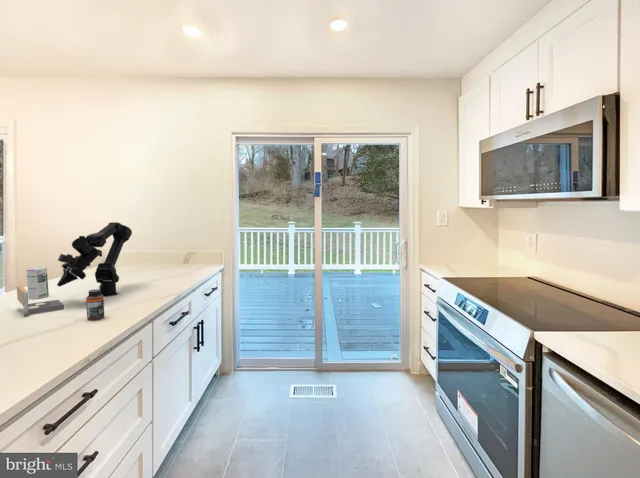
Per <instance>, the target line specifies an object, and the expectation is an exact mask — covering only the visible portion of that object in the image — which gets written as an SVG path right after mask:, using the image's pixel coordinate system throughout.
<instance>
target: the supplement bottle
mask: <svg viewBox="0 0 640 478" xmlns="http://www.w3.org/2000/svg"><path fill="white" fill-rule="evenodd" d="M85 303H86V306H85V307H86V318H87V320H89V321H97V320H101V319H103V318H104V317H105V306H104V305H105V302H104V296H103V295H101V292H100V290H99V288H98V289H95V288H94V289H90V290H88V296H86V298H85Z"/></svg>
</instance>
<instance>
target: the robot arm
mask: <svg viewBox="0 0 640 478" xmlns="http://www.w3.org/2000/svg"><path fill="white" fill-rule="evenodd" d="M132 233H133V231H132V229H131V228H130V227H129V226H127V225H124V224H122V223H120V222H117V221H116V222H113V221H111V222H109V223H108V224H107V225H106V226H104V227H103V228H102V229H101V230H99V231H98V232H94V233H91V234H88V235H86V236H85V235H79V237H77V238H76V239H74V240H73V241H72V242H71V247H72V248H73V249H74V250H75V251H76V252H77V253H78V254H79V255H76V256H74V257H73V255H72V254H69V253H68V254H62V253H60V254H59V256H58V259H57V261H59V262H61V263H62V265H61V268H62V272H63V274H62V276H61V277H60V279H59V281H58V282H57V283H56V285H57V287H62V286H65V285H67V284H69V283H71V282H74V281H76V280H78V279H81V280H84V279H85V278H86V277H87V274H86V273H85V272H84V271H85V269H87V268H88V267H90V266H91V263H93V261H94V260H96V259H97V257H99V258H102V257H103V251H102V250H101V249H97V248H103V247H104V246H105V245H106V243H107V239H109V238H110V237H111V236H112V238H113V240H112V243H111V246H110V248H109V250H108V253H107V255H106V258H105V260H104V261H103V262H99V263H98V264H97V267H96V269H95V272H94V277H95V280H96V283H97V284H99V285H98V289H99V290H100V292H101V295H103V297H106V296H111V295H112V296H113V295H118V292H117V283H119V280H120V276H119V274H117V268H116V264H117V260H118V258H119V256H120V253H121V251H122V248H123V246H124V244H125V243H126V242H128V241H129V240H130V238H131V237H132Z"/></svg>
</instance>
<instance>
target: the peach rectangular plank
mask: <svg viewBox="0 0 640 478" xmlns="http://www.w3.org/2000/svg"><path fill="white" fill-rule="evenodd" d="M23 291H28V289H26V288H25V287H24V286H23V285H19V284H18V285H16V294H17V296H16V297H17V298H16V299H17V301H18V302H19V303H20V304H21V306H23Z"/></svg>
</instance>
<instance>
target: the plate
mask: <svg viewBox="0 0 640 478" xmlns="http://www.w3.org/2000/svg"><path fill="white" fill-rule="evenodd" d="M22 307H23V317H29V316H30V315H35V314H42V313H47V312H48V313H49V312H56V311H61V310H62V311H63V310H65V305H64V303H63V302H61V300H59V299H54V300H47V301H39V302H33V303H29V297H28V290H27V291H23V305H22Z"/></svg>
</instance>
